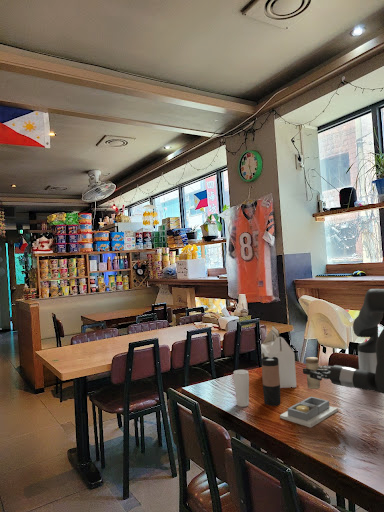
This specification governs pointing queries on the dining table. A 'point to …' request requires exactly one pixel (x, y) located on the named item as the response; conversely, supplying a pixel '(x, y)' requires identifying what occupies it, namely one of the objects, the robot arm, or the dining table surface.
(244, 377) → the white cylinder
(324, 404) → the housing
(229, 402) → the dining table surface
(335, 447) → the dining table surface
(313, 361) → the lidded cup
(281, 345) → the gable box
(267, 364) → the travel mug
